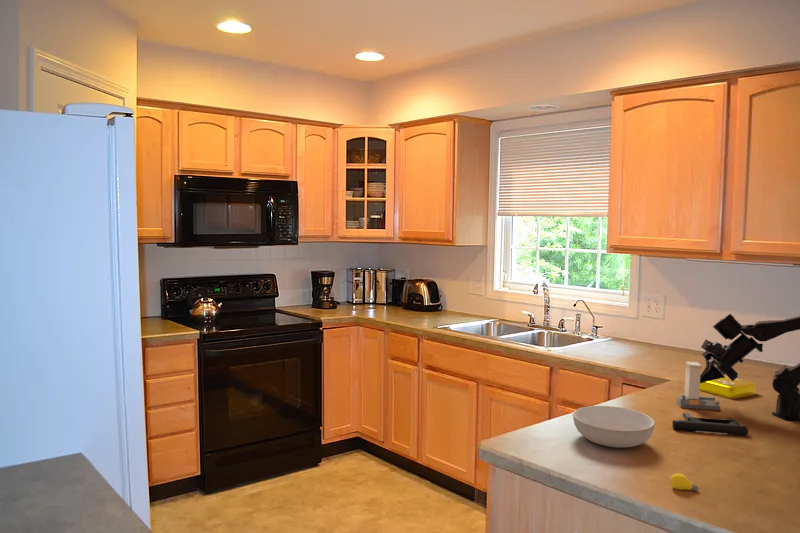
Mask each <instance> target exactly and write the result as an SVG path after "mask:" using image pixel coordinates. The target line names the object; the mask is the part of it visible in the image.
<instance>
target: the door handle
mask: <svg viewBox="0 0 800 533" xmlns="http://www.w3.org/2000/svg"><path fill="white" fill-rule="evenodd" d="M683 417H684V418H683ZM682 418H683V419H673V420H672V422H671V424H672V429H673V430H676V429H677V430H676V431H681V430H685V431H684V432H693V431H696V432H695V433H697V432H708V433H707V434H709V433H718V434H717V435H721V434H728V435H729V434H733V435H732V436H741V435H743V436H744V437H745V436H747V435H748V434H749V428H748V427H747V425H744V424H741V423H739V422H738V421H737V420H735V419H733V418H725V419H721V418H720V419H719V418H718V419H717V418H708V417H707V418H706V417H693V416H692V415H691V414H690V413H688V412H683V413H682Z"/></svg>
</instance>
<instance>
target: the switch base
mask: <svg viewBox="0 0 800 533" xmlns="http://www.w3.org/2000/svg"><path fill="white" fill-rule="evenodd" d="M685 396H686V395H685V394H684V395H683V394H681V395H677V399H676V404H677V405H678V406H679V407H680V408H681V407H683V409H695V408H696V409H699V410H708V409H709V410H710V411H721V406H720V401H718V400H716V397H713V396H712V397H711V396H701V395H699V399H698V400H696V399H685ZM709 410H708V411H709Z"/></svg>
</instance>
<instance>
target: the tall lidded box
mask: <svg viewBox="0 0 800 533" xmlns="http://www.w3.org/2000/svg"><path fill="white" fill-rule="evenodd" d="M684 364H685V376H684V391H683V392H684V393H683V394H684V395H686V396H685V399H696V400H698V399H699V396H700V391H701V390H700V375H701V374H702V371H701V370H702V368H703V365H702V364H700V363H699V362H698V361H687V360H686V361H684Z"/></svg>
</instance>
